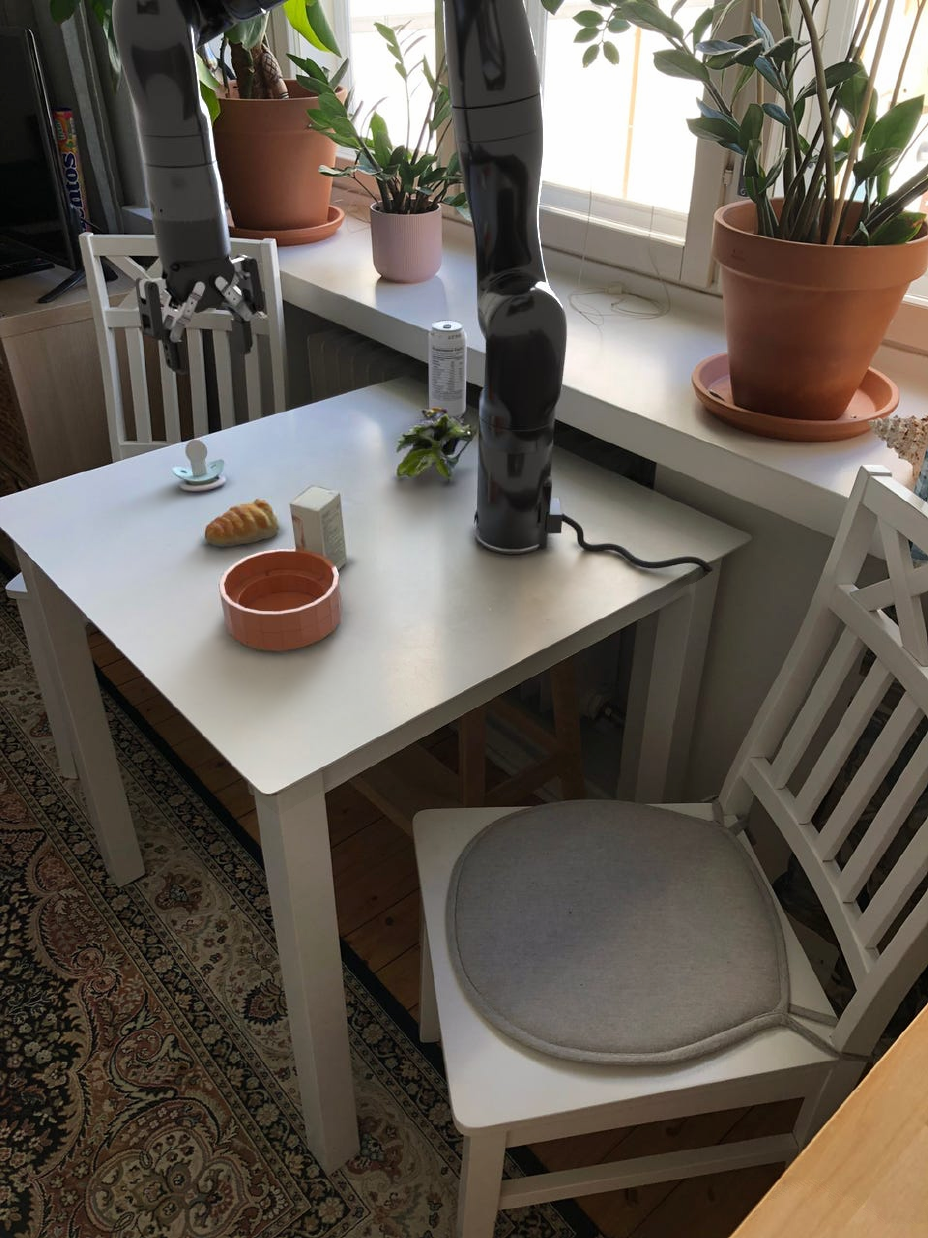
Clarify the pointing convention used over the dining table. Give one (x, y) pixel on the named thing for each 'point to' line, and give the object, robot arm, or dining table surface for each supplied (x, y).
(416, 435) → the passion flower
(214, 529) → the pastry
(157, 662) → the dining table surface
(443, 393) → the energy drink can
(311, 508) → the printed white carton
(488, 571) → the dining table surface
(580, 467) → the dining table surface
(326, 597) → the bowl
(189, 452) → the pacifier
